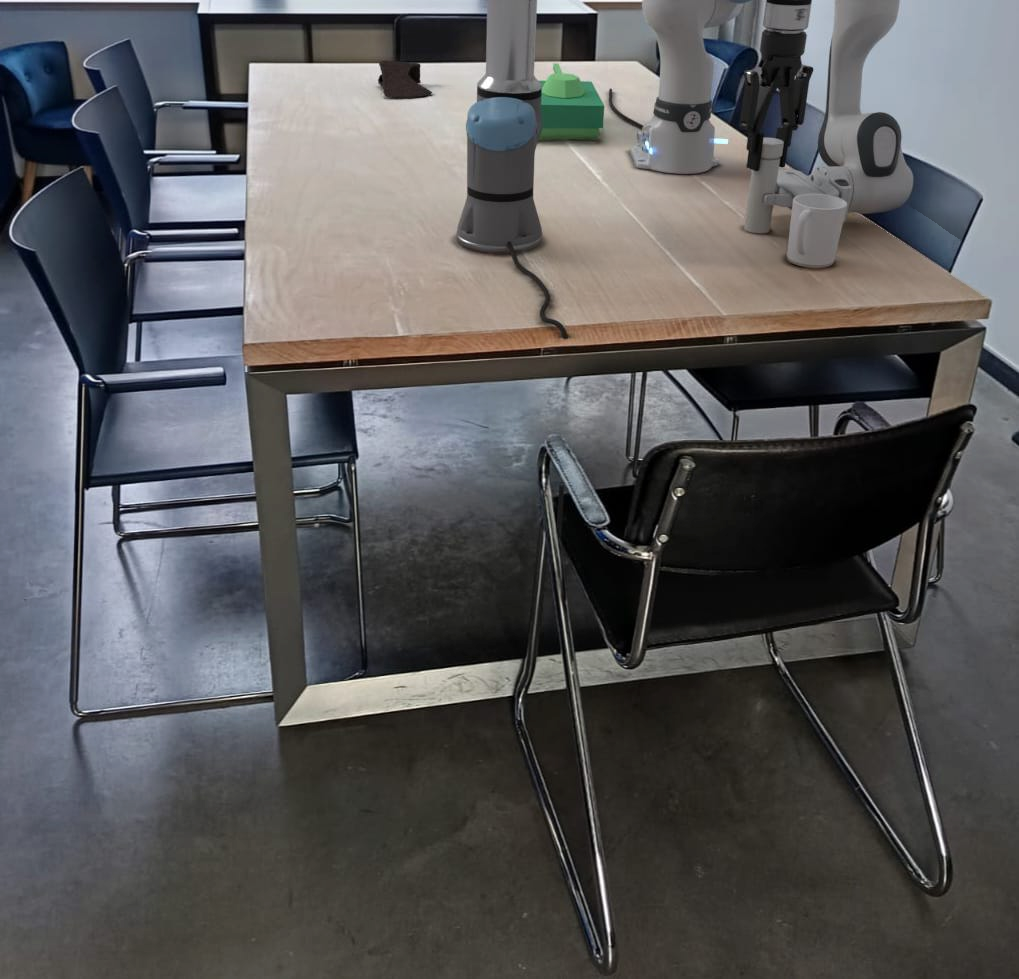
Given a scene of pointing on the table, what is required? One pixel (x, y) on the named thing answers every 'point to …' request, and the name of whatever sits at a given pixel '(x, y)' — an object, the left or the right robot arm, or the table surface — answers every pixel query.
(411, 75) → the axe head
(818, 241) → the mug
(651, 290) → the table surface
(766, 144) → the lid
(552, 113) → the toy tank
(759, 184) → the grey bottle
